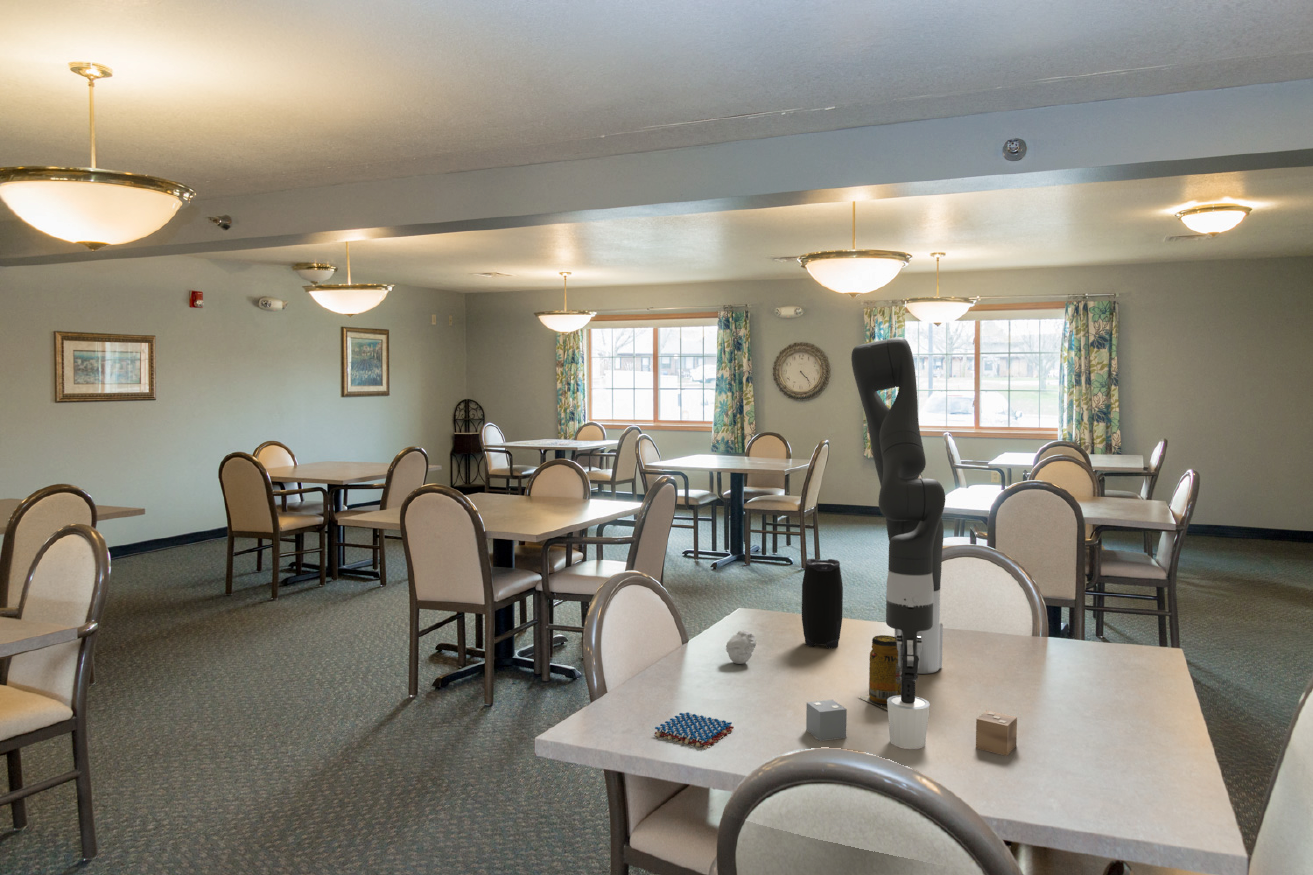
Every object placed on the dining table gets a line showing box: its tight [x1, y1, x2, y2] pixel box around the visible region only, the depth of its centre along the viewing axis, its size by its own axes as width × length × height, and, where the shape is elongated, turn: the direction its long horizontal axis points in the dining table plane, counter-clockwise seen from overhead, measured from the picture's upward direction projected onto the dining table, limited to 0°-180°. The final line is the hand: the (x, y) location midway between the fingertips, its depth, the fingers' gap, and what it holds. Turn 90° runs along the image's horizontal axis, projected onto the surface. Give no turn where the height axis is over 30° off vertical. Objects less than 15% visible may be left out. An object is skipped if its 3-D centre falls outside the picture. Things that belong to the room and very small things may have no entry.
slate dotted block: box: [805, 699, 848, 742], centre depth 154 cm, size 5×5×5 cm
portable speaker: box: [801, 558, 844, 649], centre depth 209 cm, size 9×9×20 cm
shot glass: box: [887, 695, 931, 750], centre depth 150 cm, size 7×7×7 cm
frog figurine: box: [725, 629, 757, 665], centre depth 194 cm, size 6×7×7 cm
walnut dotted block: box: [975, 710, 1018, 757], centre depth 148 cm, size 5×5×5 cm
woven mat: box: [654, 711, 734, 749], centre depth 154 cm, size 10×11×2 cm
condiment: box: [858, 634, 901, 711], centre depth 170 cm, size 7×8×12 cm
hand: (907, 701), depth 150 cm, fingers closed
